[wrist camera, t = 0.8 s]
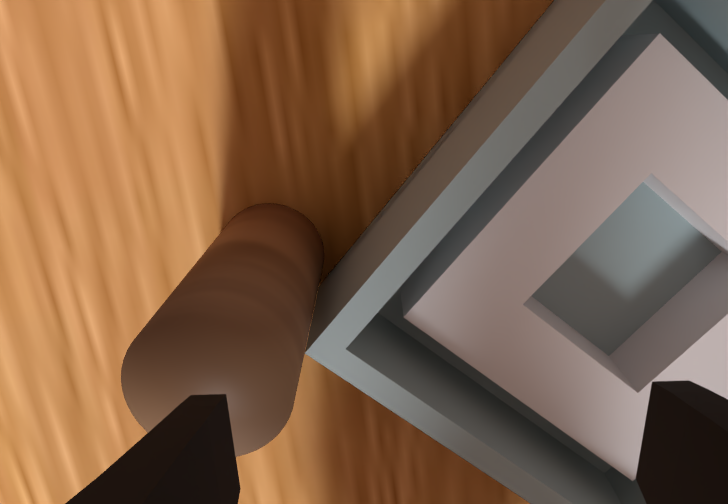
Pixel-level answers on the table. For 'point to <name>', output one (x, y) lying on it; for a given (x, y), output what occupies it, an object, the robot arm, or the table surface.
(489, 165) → the bore box
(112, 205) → the table surface
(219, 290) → the peg
